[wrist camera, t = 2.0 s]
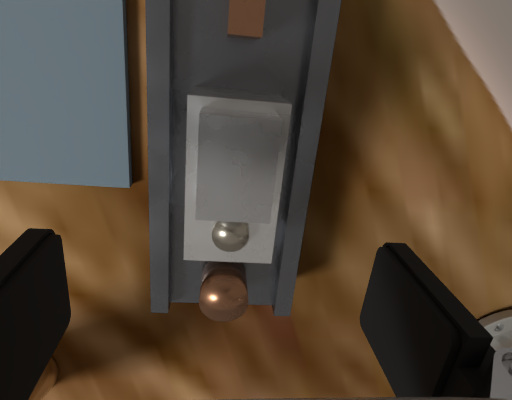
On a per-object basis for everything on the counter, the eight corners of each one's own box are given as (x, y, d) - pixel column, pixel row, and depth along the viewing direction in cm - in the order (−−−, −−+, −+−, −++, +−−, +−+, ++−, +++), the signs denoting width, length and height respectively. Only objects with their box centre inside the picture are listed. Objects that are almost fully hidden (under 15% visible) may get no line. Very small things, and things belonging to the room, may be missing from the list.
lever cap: (195, 86, 21) (182, 100, 15) (279, 93, 22) (299, 110, 16) (190, 224, 24) (179, 281, 18) (263, 228, 25) (275, 284, 19)
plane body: (159, -38, 21) (130, -78, 15) (325, -17, 22) (366, -45, 16) (160, 277, 29) (142, 342, 23) (281, 282, 30) (296, 344, 24)
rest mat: (125, -4, 22) (122, -6, 21) (132, 184, 26) (129, 188, 25) (-94, -30, 20) (-106, -32, 20) (-47, 173, 25) (-56, 176, 24)
